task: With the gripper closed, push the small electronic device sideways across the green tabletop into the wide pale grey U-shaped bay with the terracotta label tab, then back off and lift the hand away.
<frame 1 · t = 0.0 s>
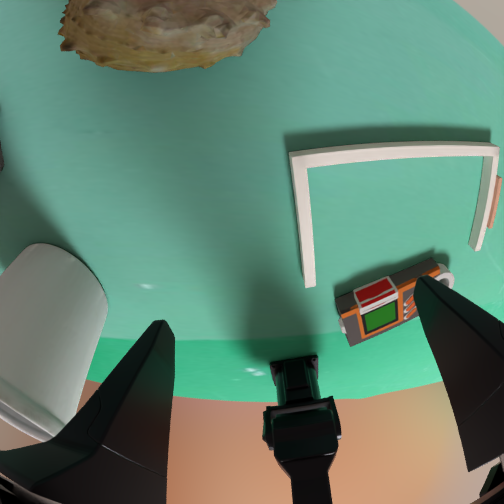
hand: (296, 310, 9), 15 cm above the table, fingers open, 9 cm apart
electronic device: (394, 291, 30), on the table
docking bay: (408, 217, 24), on the table
seashell: (170, 12, 14), on the table
utensil holder: (61, 289, 28), on the table
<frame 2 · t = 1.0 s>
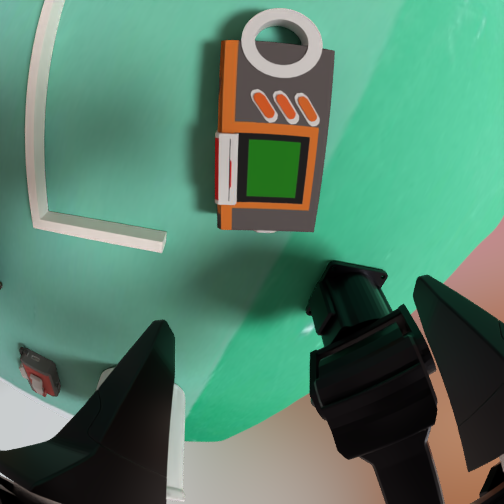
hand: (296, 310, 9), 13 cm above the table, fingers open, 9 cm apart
electronic device: (270, 118, 17), on the table
docking bay: (116, 97, 15), on the table
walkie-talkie: (42, 371, 38), on the table
utensil holder: (144, 388, 37), on the table
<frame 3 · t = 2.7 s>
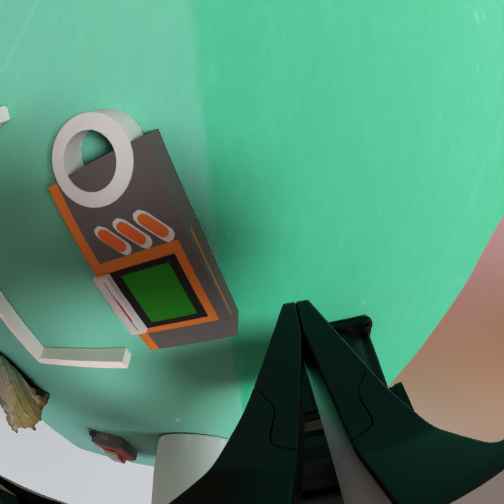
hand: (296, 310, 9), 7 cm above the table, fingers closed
electronic device: (146, 228, 16), on the table
docking bay: (24, 264, 16), on the table
seashell: (21, 373, 28), on the table
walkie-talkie: (117, 442, 44), on the table
utensil holder: (200, 443, 38), on the table
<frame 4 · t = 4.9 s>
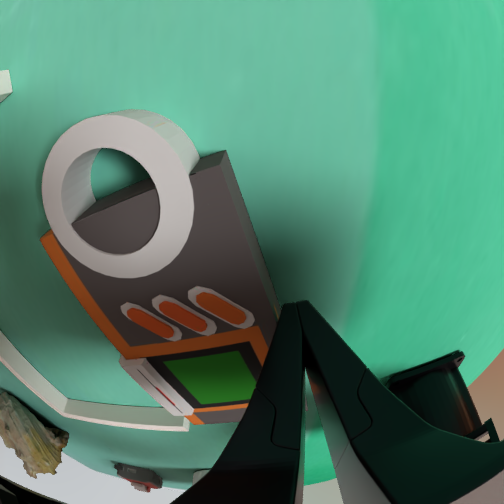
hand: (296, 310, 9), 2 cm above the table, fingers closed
electronic device: (193, 289, 11), on the table
docking bay: (40, 315, 12), on the table
seashell: (34, 412, 23), on the table
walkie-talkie: (140, 471, 39), on the table
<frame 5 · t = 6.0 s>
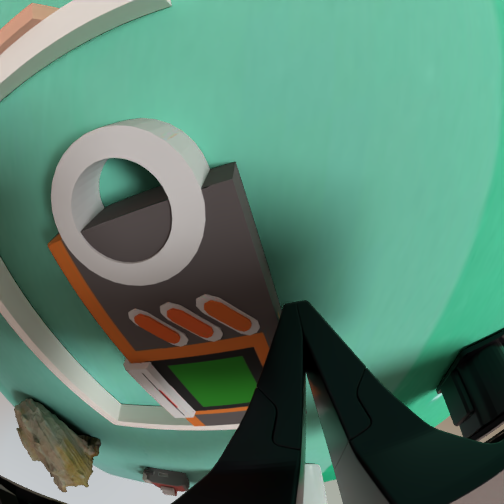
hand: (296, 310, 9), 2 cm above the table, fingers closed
electronic device: (197, 295, 12), on the table, touching gripper
docking bay: (128, 304, 11), on the table
seashell: (61, 418, 23), on the table
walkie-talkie: (166, 474, 38), on the table
utensil holder: (277, 470, 33), on the table
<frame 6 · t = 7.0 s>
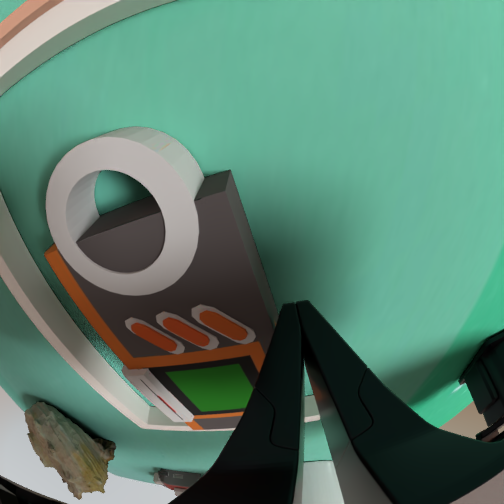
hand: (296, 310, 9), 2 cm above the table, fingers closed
electronic device: (195, 302, 12), on the table
docking bay: (184, 297, 11), on the table
seashell: (74, 422, 22), on the table
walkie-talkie: (177, 474, 38), on the table
utensil holder: (293, 469, 32), on the table
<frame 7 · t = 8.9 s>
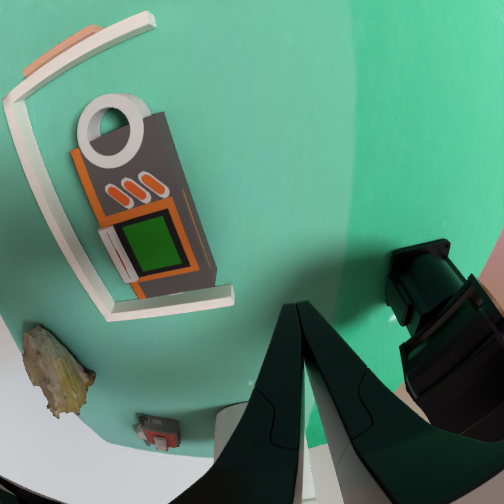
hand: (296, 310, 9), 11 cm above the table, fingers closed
electronic device: (146, 192, 19), on the table
docking bay: (128, 187, 18), on the table
seashell: (63, 351, 30), on the table
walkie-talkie: (159, 428, 45), on the table
utensil holder: (259, 415, 40), on the table
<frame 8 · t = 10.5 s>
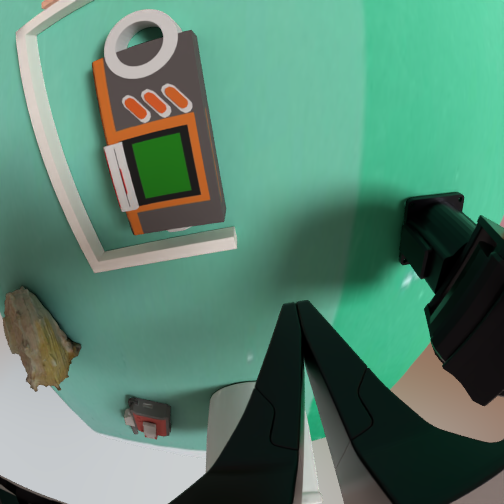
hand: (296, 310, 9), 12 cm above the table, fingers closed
electronic device: (162, 116, 17), on the table
docking bay: (131, 113, 16), on the table
seashell: (47, 319, 28), on the table
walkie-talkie: (148, 415, 43), on the table
utensil holder: (257, 400, 38), on the table
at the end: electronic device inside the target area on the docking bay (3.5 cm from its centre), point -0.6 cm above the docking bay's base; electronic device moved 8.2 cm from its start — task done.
